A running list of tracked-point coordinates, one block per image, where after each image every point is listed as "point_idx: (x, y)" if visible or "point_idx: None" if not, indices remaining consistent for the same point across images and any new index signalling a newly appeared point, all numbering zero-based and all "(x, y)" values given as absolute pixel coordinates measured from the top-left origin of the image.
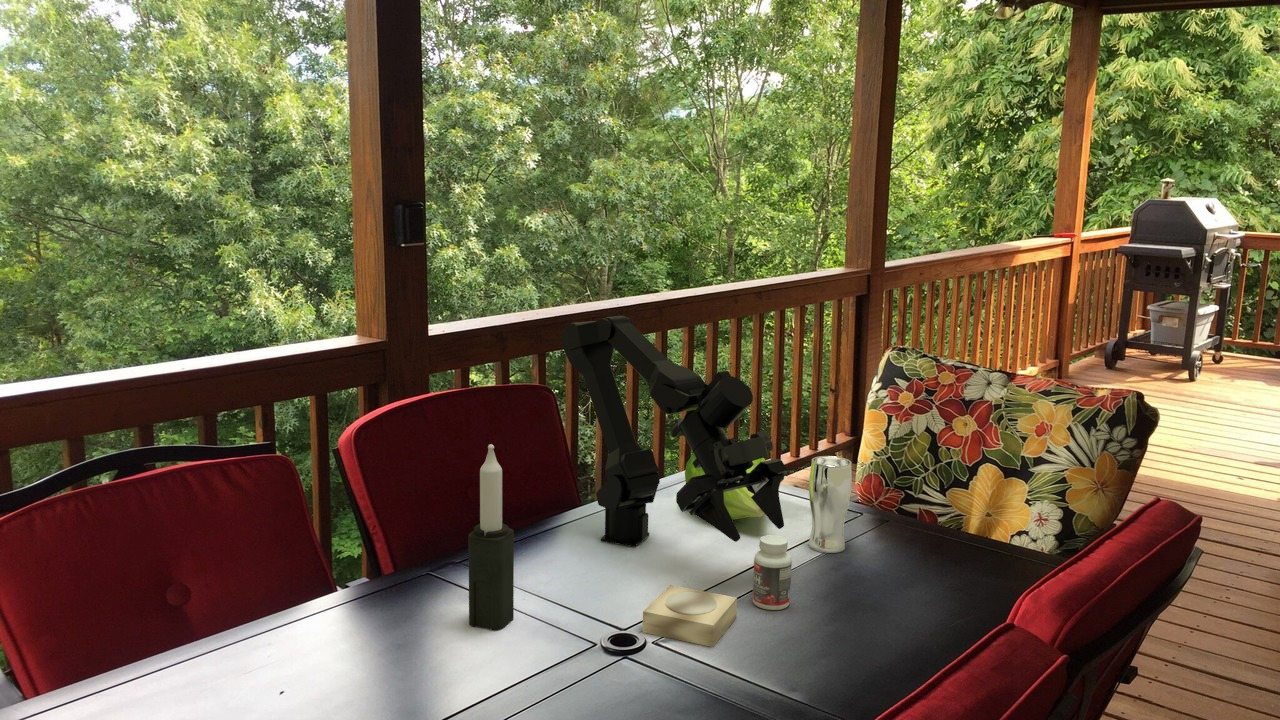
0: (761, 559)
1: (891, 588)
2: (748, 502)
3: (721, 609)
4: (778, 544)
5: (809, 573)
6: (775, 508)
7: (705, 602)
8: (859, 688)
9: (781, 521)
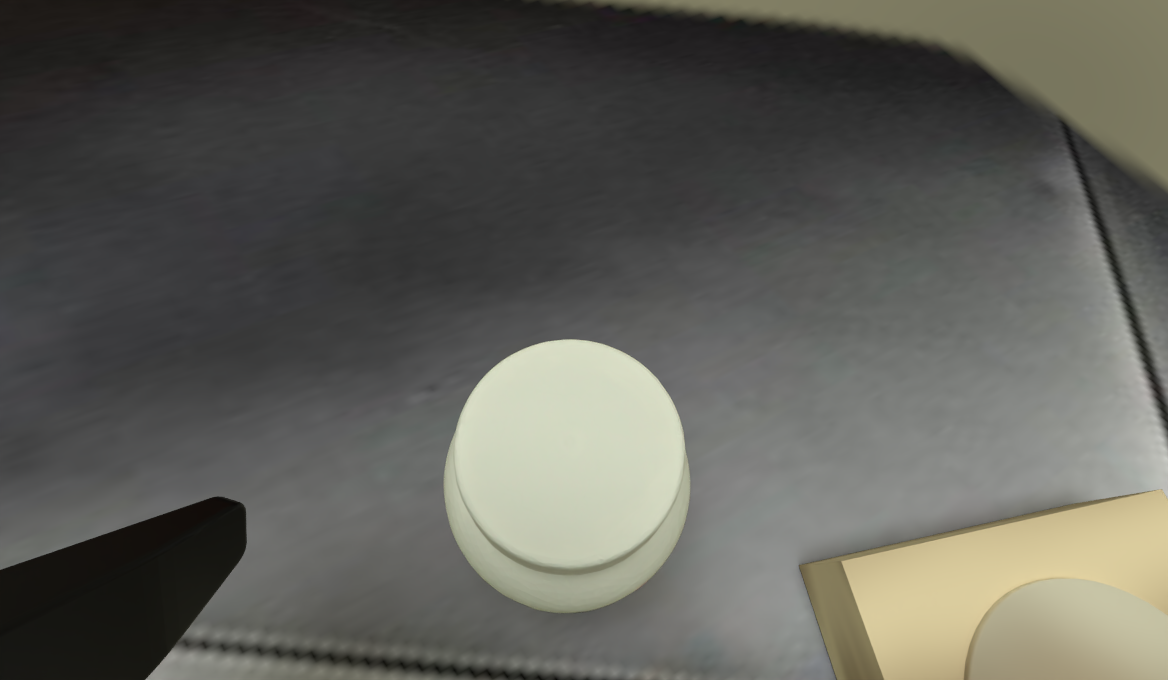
0: (682, 502)
1: (175, 210)
2: None
3: (1010, 551)
4: (642, 366)
5: None
6: (27, 634)
7: (1050, 659)
8: (897, 85)
9: (204, 518)
